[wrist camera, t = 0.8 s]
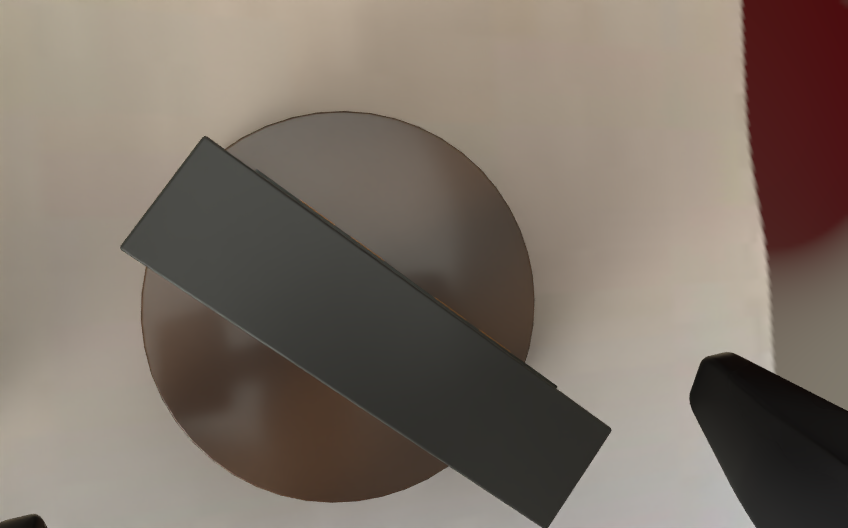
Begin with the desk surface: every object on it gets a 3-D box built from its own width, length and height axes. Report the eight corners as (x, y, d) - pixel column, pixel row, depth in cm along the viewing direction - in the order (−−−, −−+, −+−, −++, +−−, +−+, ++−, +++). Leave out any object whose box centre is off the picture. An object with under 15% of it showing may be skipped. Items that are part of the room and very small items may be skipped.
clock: (464, 441, 24) (547, 531, 17) (168, 241, 21) (117, 248, 14) (516, 365, 24) (618, 422, 17) (229, 159, 21) (210, 126, 14)
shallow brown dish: (594, 326, 25) (603, 329, 25) (321, 572, 24) (323, 582, 23) (375, 36, 23) (378, 30, 22) (52, 283, 21) (45, 286, 21)
